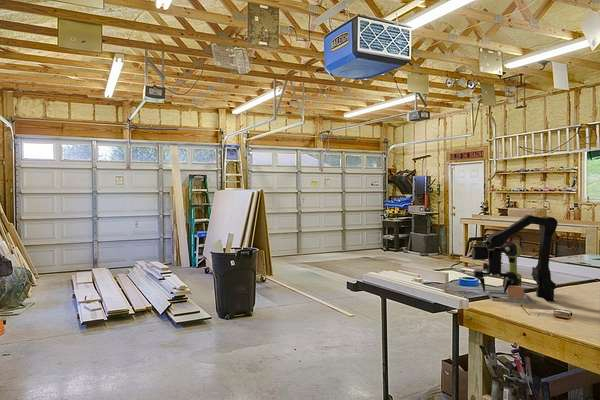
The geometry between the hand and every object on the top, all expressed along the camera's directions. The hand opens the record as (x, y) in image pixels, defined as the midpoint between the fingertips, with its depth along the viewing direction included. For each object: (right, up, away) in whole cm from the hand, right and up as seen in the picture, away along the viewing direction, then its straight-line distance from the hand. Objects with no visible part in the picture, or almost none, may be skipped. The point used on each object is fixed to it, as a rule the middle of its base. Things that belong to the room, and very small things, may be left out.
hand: (494, 292), depth 210 cm
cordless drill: (+16, -2, +17) cm, 23 cm away
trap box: (+5, -3, -5) cm, 8 cm away
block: (+9, -1, -2) cm, 9 cm away
